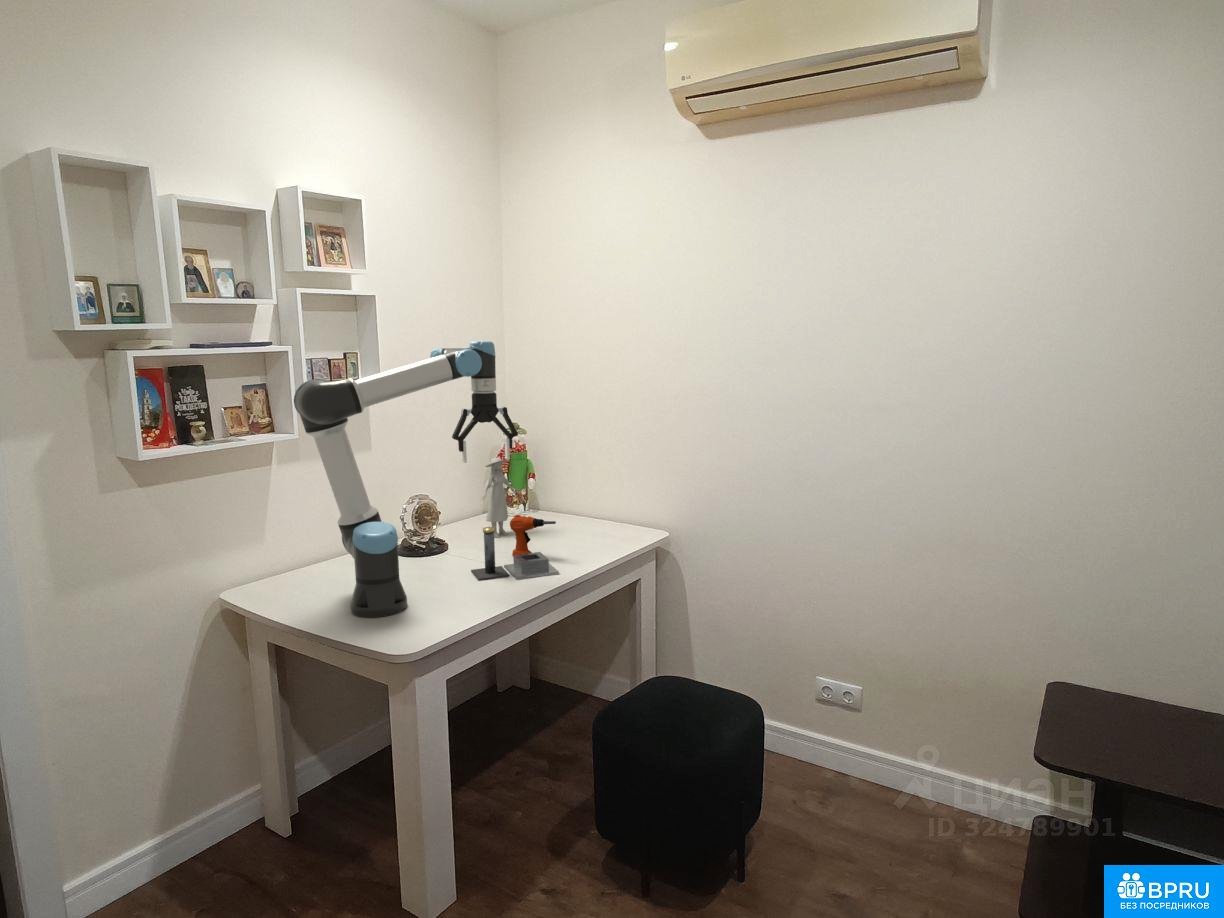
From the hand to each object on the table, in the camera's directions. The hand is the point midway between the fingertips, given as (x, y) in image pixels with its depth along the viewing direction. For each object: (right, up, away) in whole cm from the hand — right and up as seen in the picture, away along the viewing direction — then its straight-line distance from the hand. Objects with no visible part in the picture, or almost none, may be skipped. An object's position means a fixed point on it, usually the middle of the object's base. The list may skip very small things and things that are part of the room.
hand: (486, 460), depth 237 cm
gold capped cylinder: (0, -36, +6) cm, 36 cm away
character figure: (-4, -29, +53) cm, 60 cm away
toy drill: (+12, -34, +23) cm, 43 cm away
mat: (0, -36, +6) cm, 37 cm away
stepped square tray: (+13, -36, +9) cm, 39 cm away
